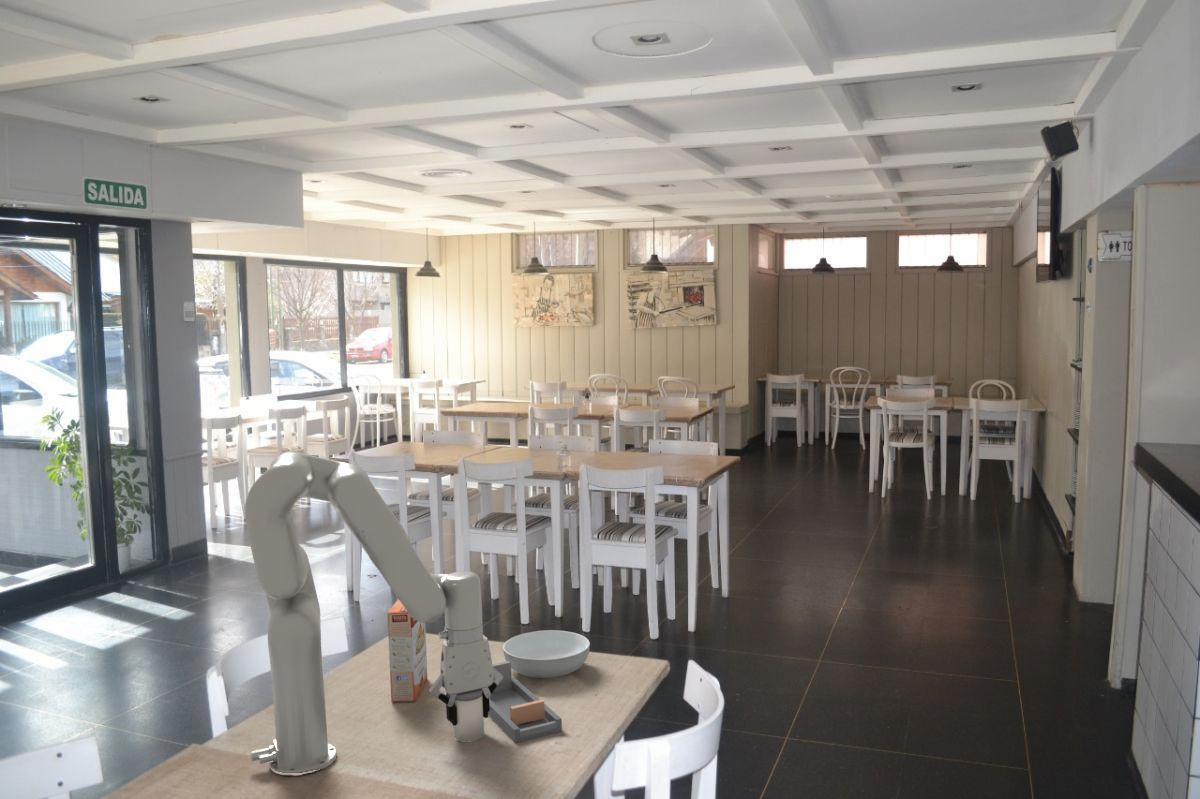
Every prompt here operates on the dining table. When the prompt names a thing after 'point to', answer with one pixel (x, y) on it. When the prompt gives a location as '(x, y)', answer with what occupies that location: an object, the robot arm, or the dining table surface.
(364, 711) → the dining table surface
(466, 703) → the jar
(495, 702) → the lane
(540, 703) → the pusher
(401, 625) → the cracker box
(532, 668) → the serving bowl
